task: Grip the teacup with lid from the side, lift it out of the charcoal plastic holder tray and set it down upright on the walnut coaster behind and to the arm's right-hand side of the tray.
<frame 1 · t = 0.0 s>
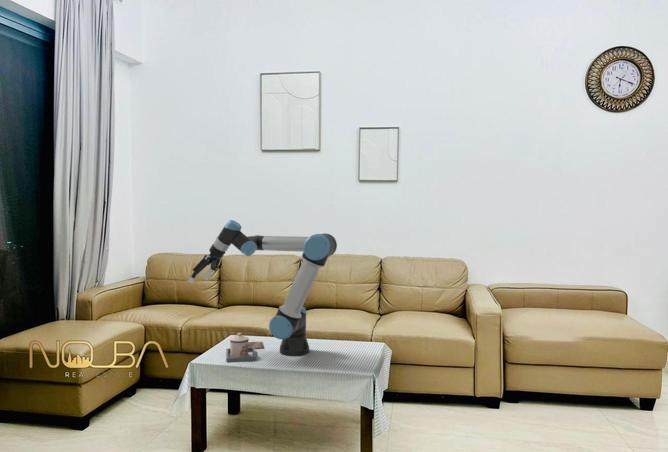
hand: (197, 280, 255), 36 cm above the table, tool tilted 35°, fingers open, 13 cm apart
walnut coaster: (251, 346, 265), on the table
teacup with lid: (240, 356, 247), resting in holder tray
holder tray: (240, 356, 247), on the table
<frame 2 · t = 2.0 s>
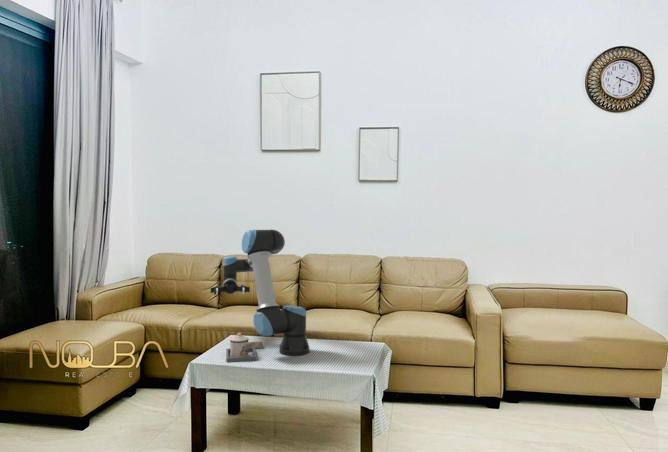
hand: (230, 292, 258), 30 cm above the table, tool horizontal, fingers open, 13 cm apart
nothing on the table moved.
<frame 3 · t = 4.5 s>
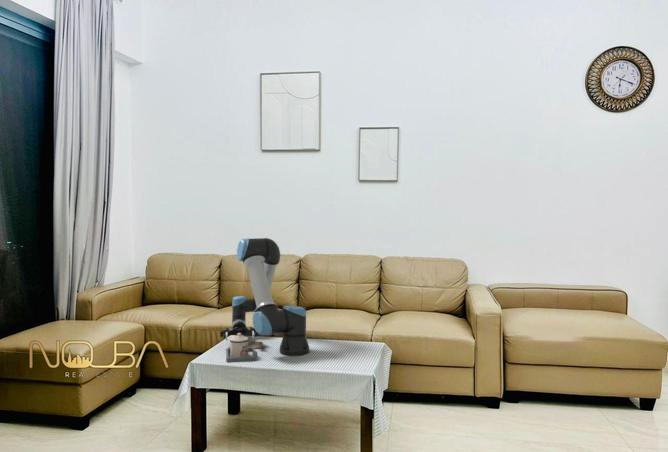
hand: (240, 337, 255), 7 cm above the table, tool horizontal, fingers open, 13 cm apart
nothing on the table moved.
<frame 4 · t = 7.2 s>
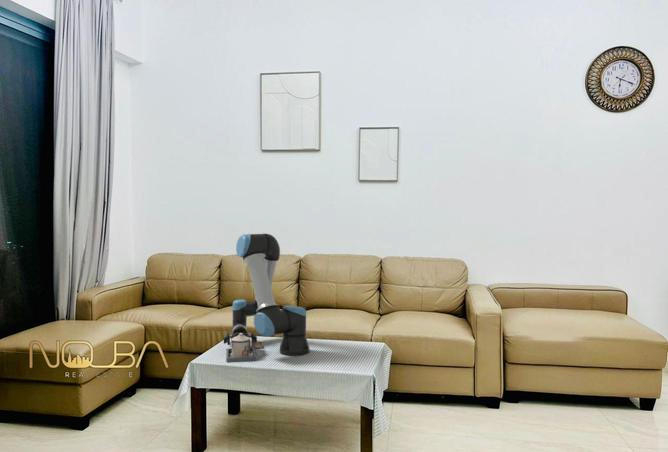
hand: (240, 344, 242), 7 cm above the table, tool horizontal, fingers closed on teacup with lid, 9 cm apart
teacup with lid: (242, 356, 247), resting in holder tray, touching gripper
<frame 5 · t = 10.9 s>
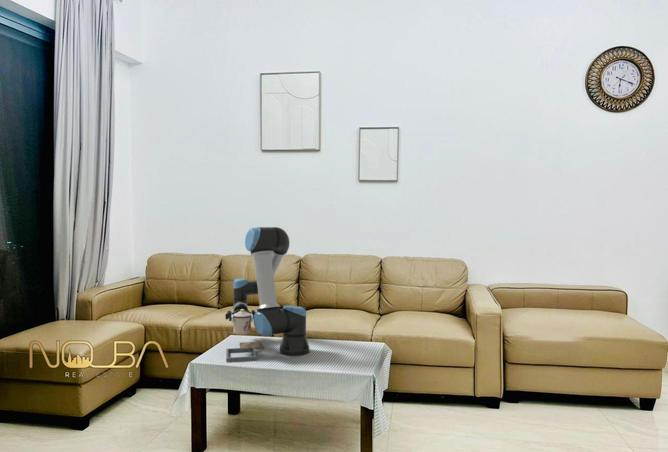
hand: (242, 319, 246), 18 cm above the table, tool horizontal, fingers closed on teacup with lid, 9 cm apart
teacup with lid: (243, 332, 251), point 11 cm above the table, touching gripper
when the fingers open (9 cm above the table, at t = 14.7 s): teacup with lid drops 1 cm, resting on walnut coaster.
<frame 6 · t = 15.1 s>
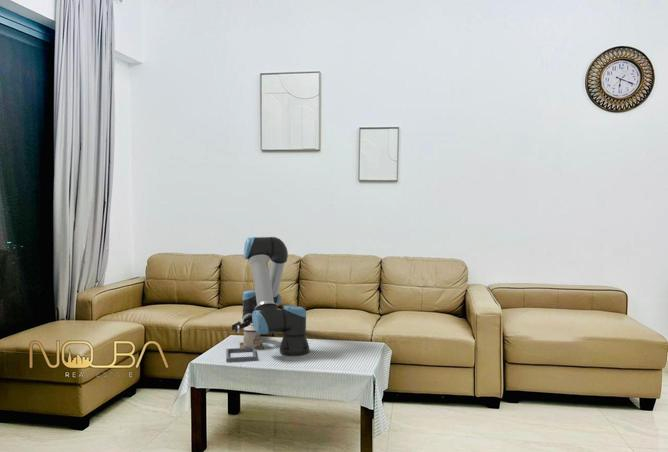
hand: (251, 330, 262), 9 cm above the table, tool horizontal, fingers open, 13 cm apart
teacup with lid: (252, 345, 266), resting on walnut coaster
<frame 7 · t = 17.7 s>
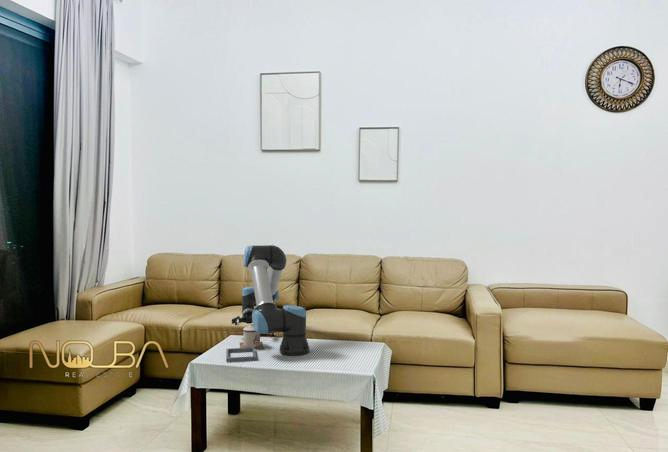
hand: (250, 323, 275), 10 cm above the table, tool horizontal, fingers open, 13 cm apart
nothing on the table moved.
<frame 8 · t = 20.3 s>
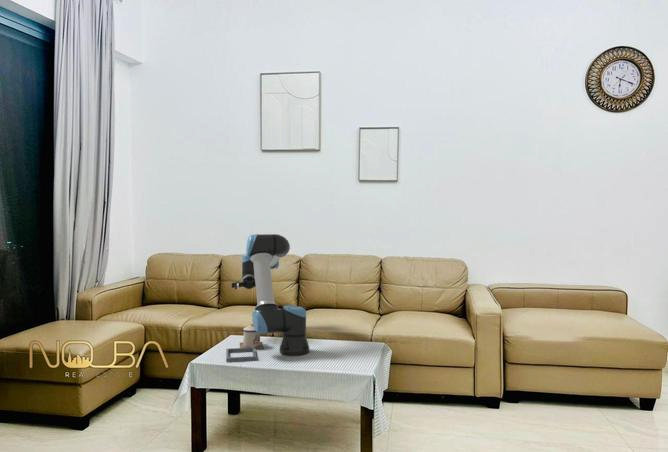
hand: (250, 287, 274), 30 cm above the table, tool horizontal, fingers open, 13 cm apart
nothing on the table moved.
at the end: teacup with lid inside the target area on the walnut coaster (0.8 cm from its centre), point 0.4 cm above the walnut coaster's base; teacup with lid tilted 0°; the gripper is holding nothing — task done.
